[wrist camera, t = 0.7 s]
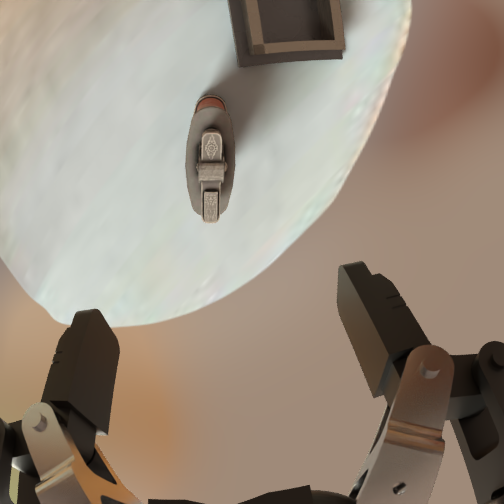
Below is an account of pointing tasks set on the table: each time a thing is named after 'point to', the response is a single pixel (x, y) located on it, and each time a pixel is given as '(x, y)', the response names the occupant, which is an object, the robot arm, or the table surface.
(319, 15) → the rectangular tray
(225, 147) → the lighter
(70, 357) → the robot arm
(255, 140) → the table surface
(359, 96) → the table surface
